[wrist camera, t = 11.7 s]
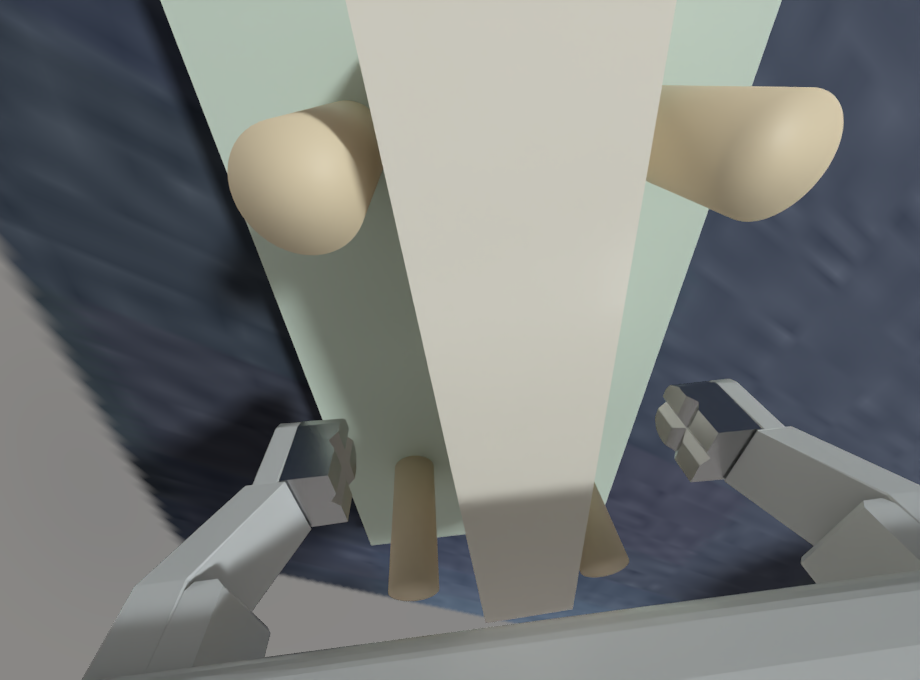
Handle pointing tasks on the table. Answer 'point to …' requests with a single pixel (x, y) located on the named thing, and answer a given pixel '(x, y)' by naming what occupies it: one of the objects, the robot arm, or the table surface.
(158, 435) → the table surface
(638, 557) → the table surface
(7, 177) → the table surface
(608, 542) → the rack
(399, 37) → the off-white rectangular block
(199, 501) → the table surface
